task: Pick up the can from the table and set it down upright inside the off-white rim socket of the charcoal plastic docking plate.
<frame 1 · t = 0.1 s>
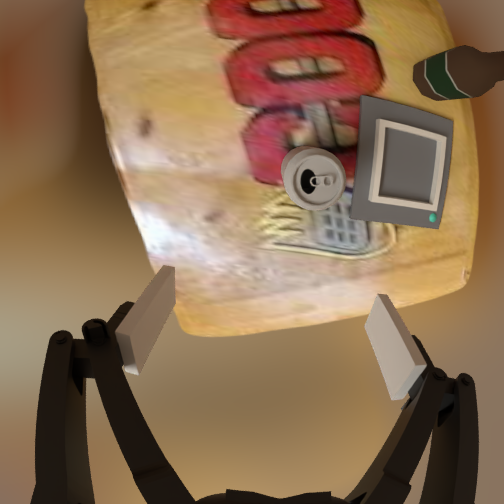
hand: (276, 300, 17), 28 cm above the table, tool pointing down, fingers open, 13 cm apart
dock: (405, 165, 38), on the table
can: (304, 169, 40), on the table
beer bottle: (428, 80, 31), on the table
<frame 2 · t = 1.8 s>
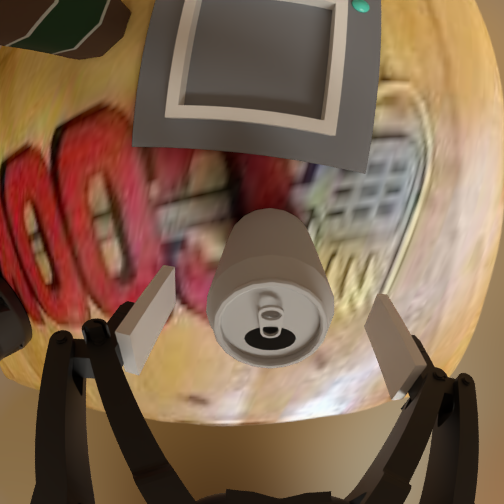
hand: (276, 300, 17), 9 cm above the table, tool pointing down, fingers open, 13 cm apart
dock: (259, 53, 18), on the table
can: (269, 244, 25), on the table
beer bottle: (101, 29, 16), on the table
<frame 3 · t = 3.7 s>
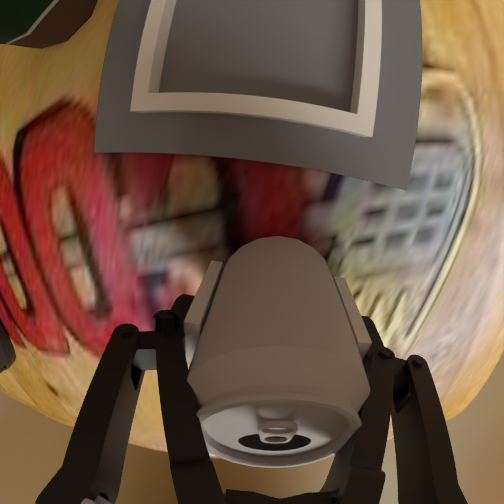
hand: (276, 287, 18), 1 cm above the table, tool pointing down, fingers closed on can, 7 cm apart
dock: (263, 23, 12), on the table
can: (276, 281, 19), on the table, touching gripper
beer bottle: (68, 11, 11), on the table
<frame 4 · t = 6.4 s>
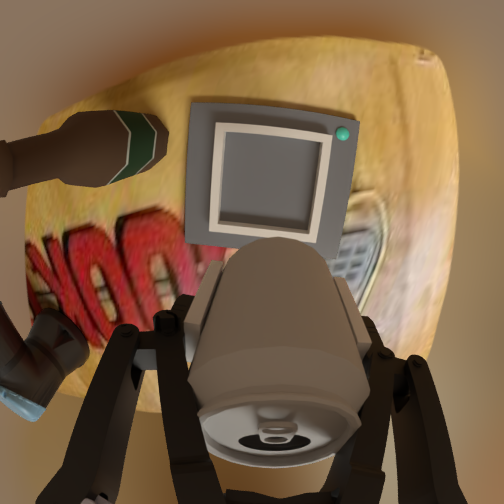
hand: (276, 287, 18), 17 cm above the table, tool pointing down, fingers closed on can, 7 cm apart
dock: (268, 180, 32), on the table
can: (276, 281, 19), point 17 cm above the table, touching gripper
beer bottle: (144, 141, 31), on the table
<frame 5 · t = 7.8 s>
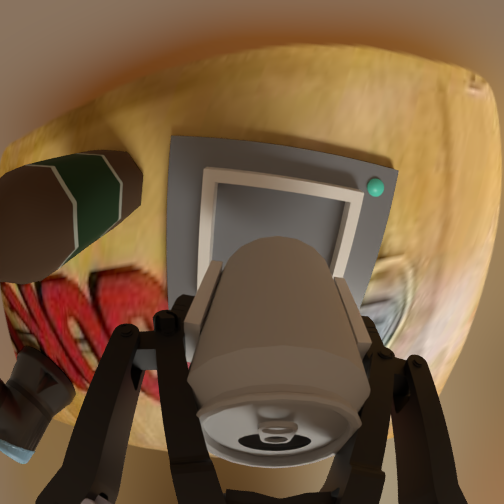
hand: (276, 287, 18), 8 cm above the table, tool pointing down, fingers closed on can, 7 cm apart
dock: (273, 243, 25), on the table
can: (276, 281, 19), point 7 cm above the table, touching gripper
beer bottle: (114, 184, 24), on the table
when the fingers open (3 cm above the table, at t = 9.2 s): can drops 2 cm, resting on dock.
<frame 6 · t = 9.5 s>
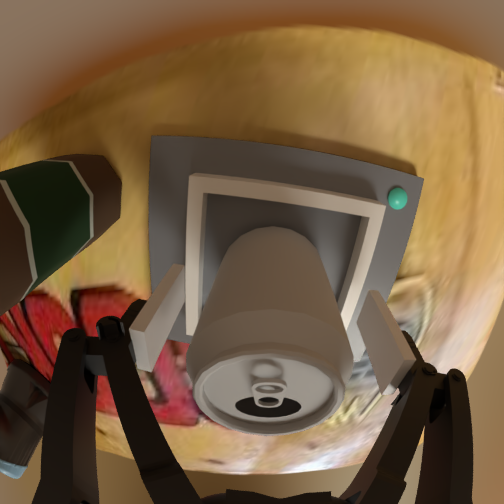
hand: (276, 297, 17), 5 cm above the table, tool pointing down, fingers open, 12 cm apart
dock: (275, 264, 21), on the table
can: (272, 269, 21), point 1 cm above the table, touching dock
beer bottle: (91, 193, 20), on the table
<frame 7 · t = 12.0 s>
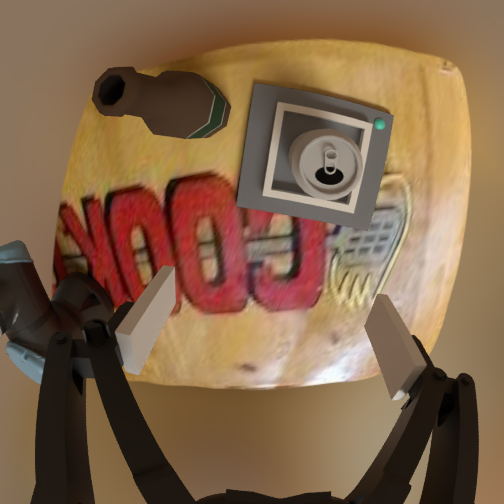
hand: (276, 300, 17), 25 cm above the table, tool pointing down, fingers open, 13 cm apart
dock: (316, 156, 36), on the table
can: (315, 157, 35), point 1 cm above the table, touching dock
beer bottle: (206, 112, 35), on the table
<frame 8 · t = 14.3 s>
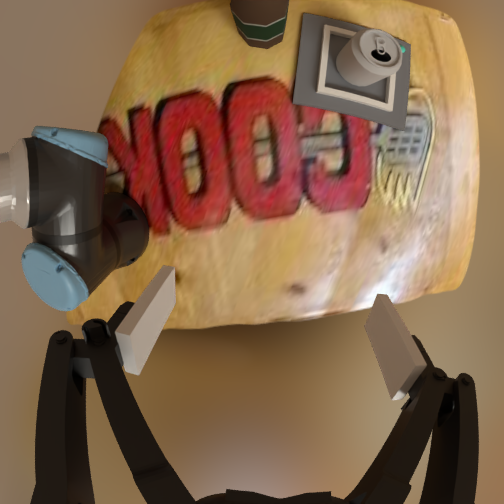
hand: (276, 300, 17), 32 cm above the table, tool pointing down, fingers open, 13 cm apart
dock: (356, 68, 35), on the table
can: (355, 67, 35), point 1 cm above the table, touching dock
beer bottle: (262, 32, 34), on the table
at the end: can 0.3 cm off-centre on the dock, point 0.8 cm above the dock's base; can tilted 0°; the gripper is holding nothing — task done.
